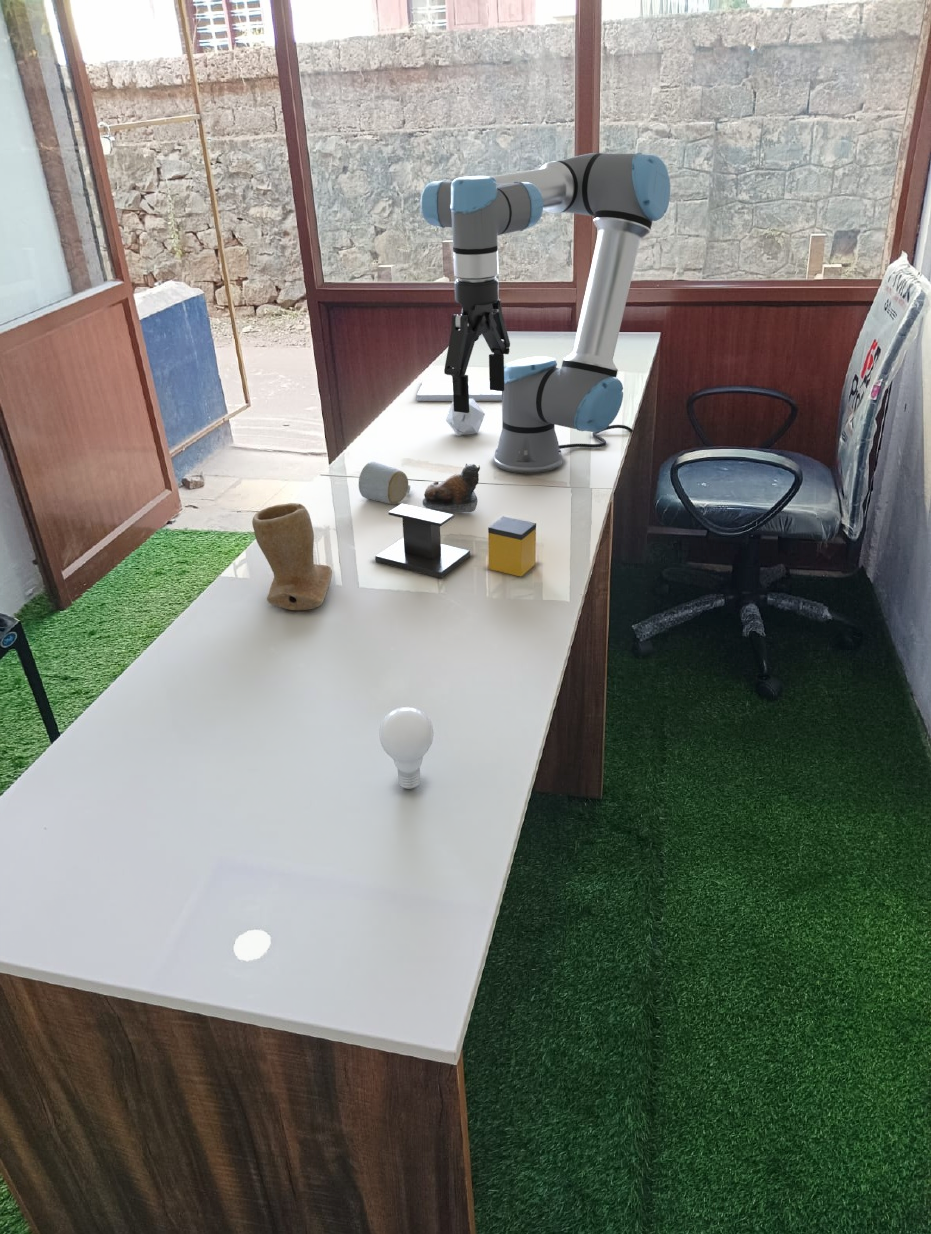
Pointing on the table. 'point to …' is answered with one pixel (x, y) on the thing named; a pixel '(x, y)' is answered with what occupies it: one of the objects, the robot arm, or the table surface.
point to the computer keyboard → (445, 391)
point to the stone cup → (291, 557)
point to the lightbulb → (406, 742)
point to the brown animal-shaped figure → (454, 492)
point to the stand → (422, 543)
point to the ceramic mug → (383, 483)
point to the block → (512, 546)
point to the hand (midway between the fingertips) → (479, 400)
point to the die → (466, 419)
